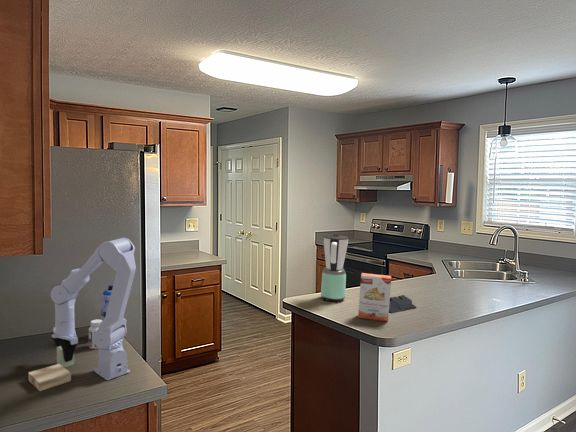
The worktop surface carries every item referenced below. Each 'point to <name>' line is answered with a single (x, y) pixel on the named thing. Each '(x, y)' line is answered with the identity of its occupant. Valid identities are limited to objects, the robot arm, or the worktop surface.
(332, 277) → the mint green blender
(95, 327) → the pill bottle
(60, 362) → the green block
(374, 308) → the cracker box
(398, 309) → the dark slate chunk
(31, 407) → the worktop surface
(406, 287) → the worktop surface
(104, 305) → the aerosol can
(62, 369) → the birch block
